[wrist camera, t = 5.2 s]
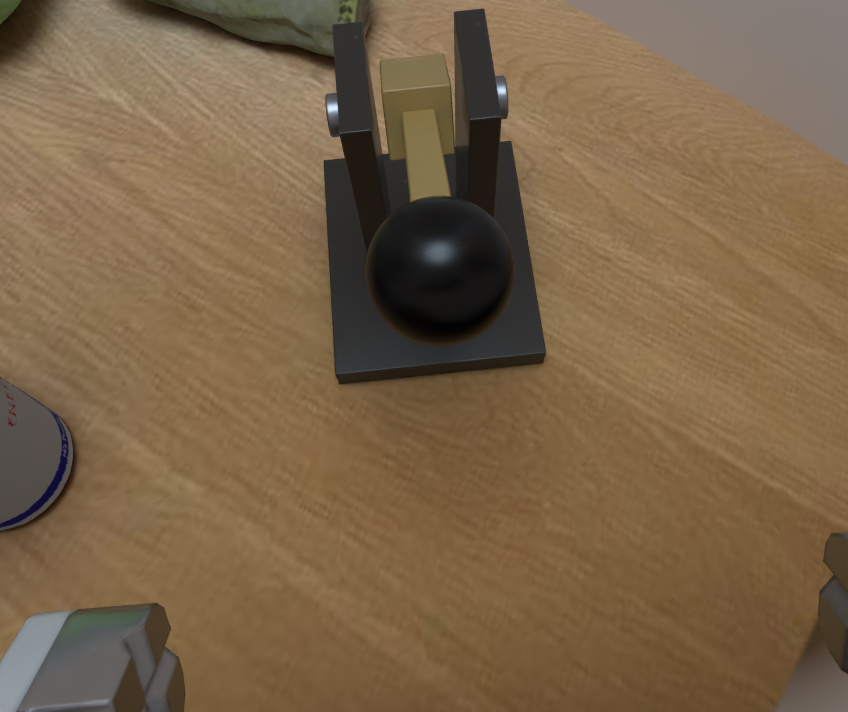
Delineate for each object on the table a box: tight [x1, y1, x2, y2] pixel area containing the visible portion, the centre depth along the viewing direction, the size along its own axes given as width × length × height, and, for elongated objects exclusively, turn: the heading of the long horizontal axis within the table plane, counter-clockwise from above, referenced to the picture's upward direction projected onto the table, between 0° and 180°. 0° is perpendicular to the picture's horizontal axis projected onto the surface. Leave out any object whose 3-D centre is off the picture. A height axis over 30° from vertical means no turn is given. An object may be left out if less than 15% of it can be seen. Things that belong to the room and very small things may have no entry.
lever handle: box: [365, 54, 515, 346], centre depth 23 cm, size 13×4×4 cm, turn 6°
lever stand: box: [324, 9, 546, 384], centre depth 31 cm, size 11×9×13 cm
